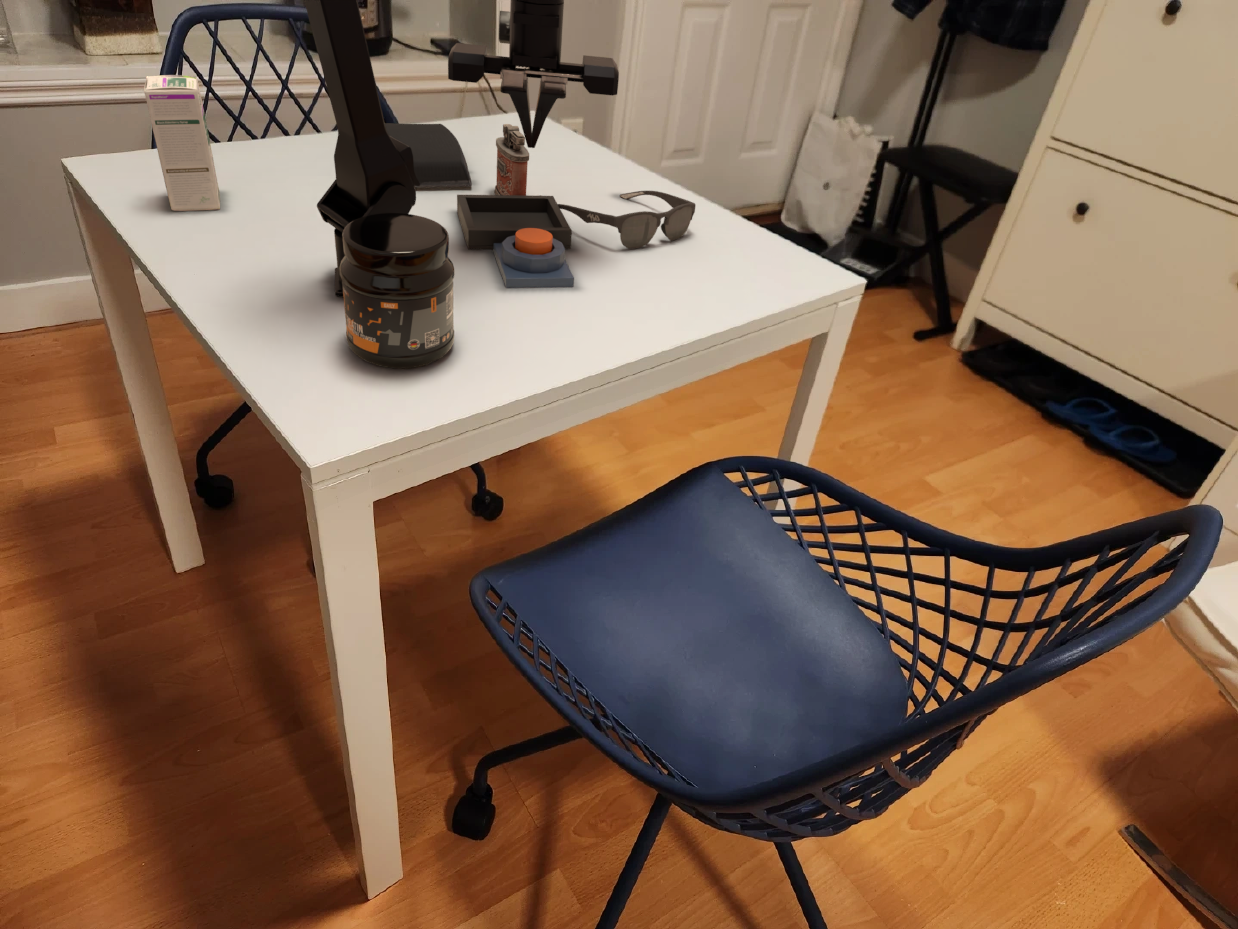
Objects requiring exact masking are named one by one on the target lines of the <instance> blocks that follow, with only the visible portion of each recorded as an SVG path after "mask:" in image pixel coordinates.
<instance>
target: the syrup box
mask: <svg viewBox="0 0 1238 929" xmlns="http://www.w3.org/2000/svg"><path fill="white" fill-rule="evenodd" d="M198 79H199V78H198V77H196V76H192V75H181V74H163V75H151V76H150V75H146V77H145V82H144V89H143V92H144V96H145V101H146V106H147V109H148V114H149V118H150V123H151V127H152V131H153V132H152V133H153V136H154V141H155V145H156V151H157V154H158V159H159V163H160V167H161V171H162V176H163V180H164V185H165V189H166V192H167V198H168V202H169V206H170V209H171V211H176V212H177V211H180V212H181V211H183V212H186V211H187V212H188V211H211V210H212V211H213V210H220V209H221V194H220V187H219V182H218V177H217V173H216V166H215V161H214V155H213V150H212V144H211V139H210V135H209V129H208V124H207V119H206V115H205V114H206V113H205V110H204V105H203V100H202V95H201V88H200V84H199V80H198Z"/></svg>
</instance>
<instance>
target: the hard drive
mask: <svg viewBox="0 0 1238 929" xmlns="http://www.w3.org/2000/svg"><path fill="white" fill-rule="evenodd" d="M384 123H385V127H386V130H387V132H388V134H389V136H391V137H393V138H394V139H396V140H398V141H400V142H402V143H403V144H405V145H407V146H409V147H410V148H411V150H412V154H413V162H414V172H415V175H416V178H417V179H418V181H419V182H420V186H415V185H414V186H415V188H451V187H452V188H454V187H457V188H458V187H460V188H461V187H462V188H463V187H465V188H466V187H468V188H469V187H472V186H473V183H472V179H471V178H472V177H471V174H470V170H469V167H468V162H467V160H466V156H465V154H464V151H463V149H462V147H461V144H460V142H459V140H458V139H457V137H456V136H455V135H454V133H453V132H452V131H451V130H450V129H449V128H447V127H446V125H443V123H389V122H387V123H386V122H384Z"/></svg>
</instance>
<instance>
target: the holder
mask: <svg viewBox="0 0 1238 929" xmlns="http://www.w3.org/2000/svg"><path fill="white" fill-rule="evenodd" d="M558 204H559V203H558V202H557V200H556V199H555V196H554V195H529V194H528V195H527V194H526V195H496V194H456V209H457V210H456V214H457V216H458V220H459V224H460V226H461V230H462V233H463V237H464V240H465V244H466V247H467V249H468V250H493V248H494V243H502V242H503V241H504V240H505V239H506V238H507V237H510V236H514V235H515V234H516V232H517V231H518V230H520V229H524V228H538V229H543V230H546V231H548V232H550V233H551V234H552V236H553V238H554V239H556V240H558V241H560V242H562V244H563V246H564V248H565V250H571V247H572V246H571V245H572V236H573V235H572V233H573V230H572V228H571V226H570V224H569V223H568V221H567V218H565V215H564V213H563V212H562V209H560V208H559V206H558Z"/></svg>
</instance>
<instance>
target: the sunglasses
mask: <svg viewBox="0 0 1238 929" xmlns="http://www.w3.org/2000/svg"><path fill="white" fill-rule="evenodd" d="M641 196H652V197H656V198H660V199H661V200H663V201H664V202H666V203H667V204H668V205H669V206H670V207H671V209H669V210H668V211H664V212H663V211H662V212H654V211H647V210H645V211H644V210H643V211H635V212H629V213H625V214H621V215H613V214H608V213H607V214H606V213H602V212H597V211H593V210H590V209H589V210H588V209H585V208H580V207H577V206H573V205H569V204H562V203H557V204H558V206H559V208H560V210H564V211H567V212H569V213H572V214H574V215H575V216H577V217H578V218H579V219H581V221H583V222H585V223H586V224H602V225H607V226H610V227H613V228H615V229H617V232H618V234H619V238H620V242H621V244H622V245H623V247H624V248H627V249H630V250H633V249H641V248H643V247H644V246H646V245H648V243H649V242H651V240H653V238H654V236H655V235H656V233H657V230H658V228H659V227H660V230H661V232H662V234H664V236H665V237H666V238H667V239H668V240H669V241H671V242H672V241H676V240H679V239H681V238H682V237H683V236H684V235H685V234H686V232H687V230H688V229H689V227H690V223H691V222H692V221H693V217H694V215H695V213H696V203H695V202H694V201H693V202H692V201H690V200H688V199H685V198H683V197H679V196H676V195H673V194H669V193H666V192H662V191H658V190H637V191H631V192H625V193H621V194H619V198H621V199H623V200H630V199H633V198H637V197H641ZM662 219H663V223H662Z"/></svg>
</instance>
